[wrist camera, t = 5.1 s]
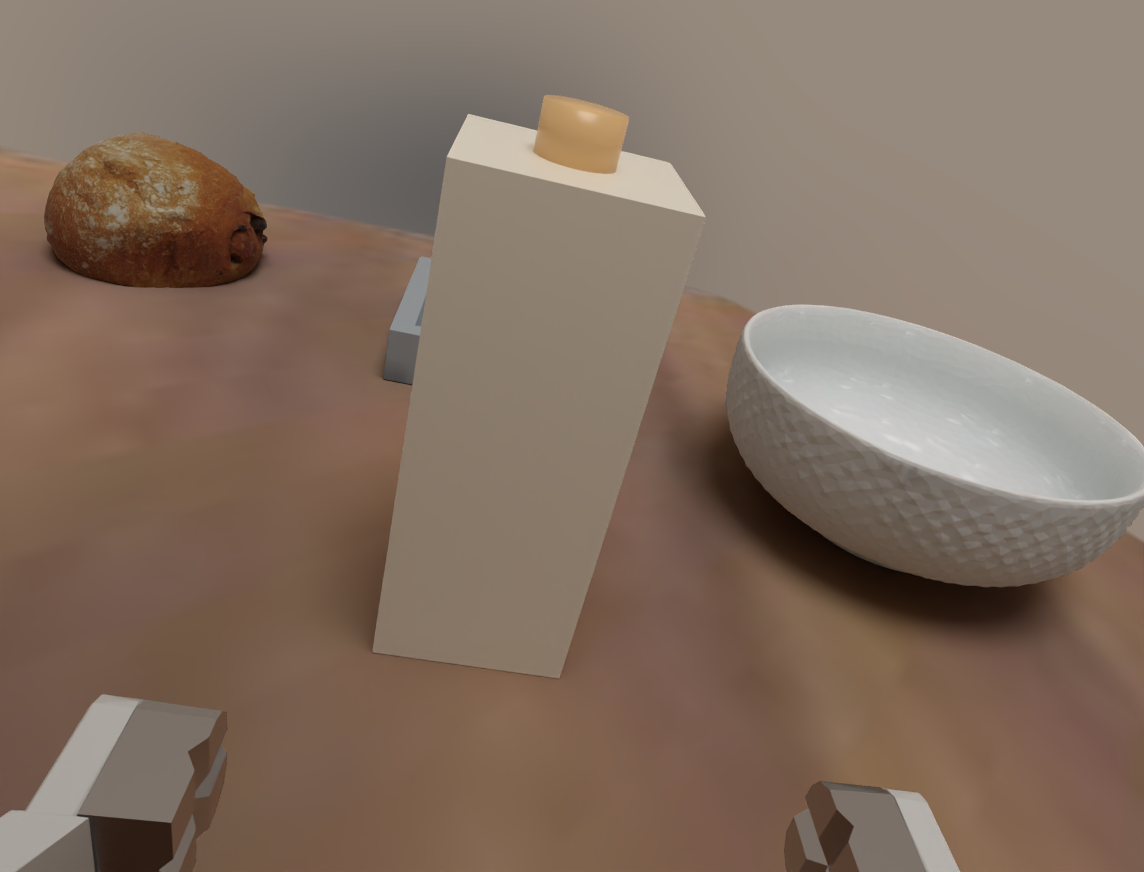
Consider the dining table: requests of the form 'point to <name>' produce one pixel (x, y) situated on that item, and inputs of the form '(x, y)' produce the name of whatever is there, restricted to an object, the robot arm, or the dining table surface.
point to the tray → (407, 327)
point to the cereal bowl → (928, 448)
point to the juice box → (529, 383)
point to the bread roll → (153, 216)
